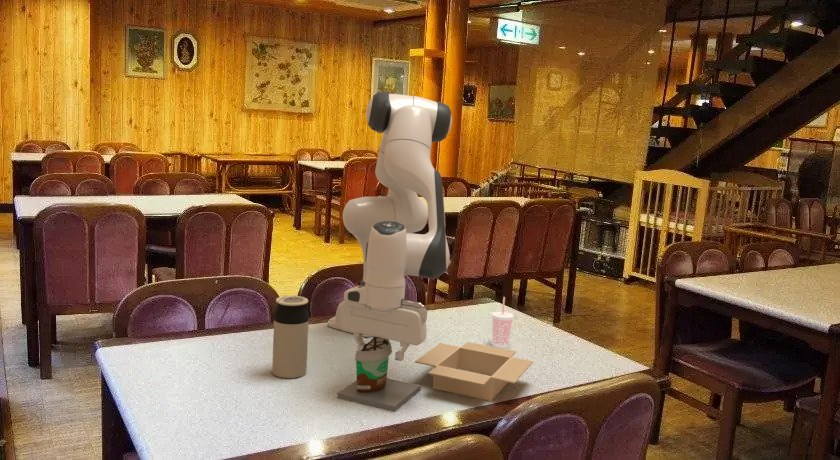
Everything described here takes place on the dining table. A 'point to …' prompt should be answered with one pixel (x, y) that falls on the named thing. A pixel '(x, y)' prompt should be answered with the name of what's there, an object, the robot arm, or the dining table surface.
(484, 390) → the carton
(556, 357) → the dining table surface
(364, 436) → the dining table surface
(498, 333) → the beverage cup
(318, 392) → the dining table surface
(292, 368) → the travel mug
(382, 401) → the slate board
